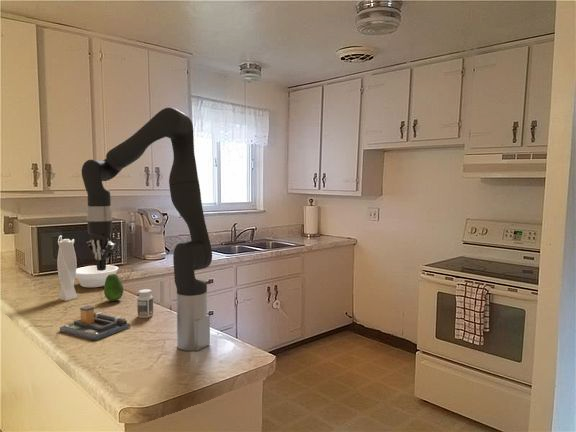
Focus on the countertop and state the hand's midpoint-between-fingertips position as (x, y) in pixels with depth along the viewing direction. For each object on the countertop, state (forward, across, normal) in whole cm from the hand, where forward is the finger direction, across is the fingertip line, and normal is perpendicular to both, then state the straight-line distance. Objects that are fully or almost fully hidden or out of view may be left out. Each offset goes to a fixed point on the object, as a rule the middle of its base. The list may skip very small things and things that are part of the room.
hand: (101, 270), depth 137 cm
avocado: (+21, +27, -27) cm, 44 cm away
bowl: (+21, +58, -42) cm, 75 cm away
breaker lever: (+20, +8, 0) cm, 21 cm away
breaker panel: (+21, +4, 0) cm, 22 cm away
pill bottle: (+22, 0, -19) cm, 29 cm away
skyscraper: (+21, +48, -20) cm, 56 cm away
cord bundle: (+20, +4, -6) cm, 21 cm away
